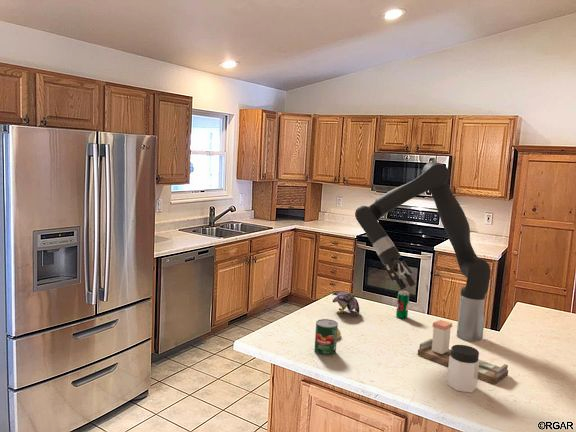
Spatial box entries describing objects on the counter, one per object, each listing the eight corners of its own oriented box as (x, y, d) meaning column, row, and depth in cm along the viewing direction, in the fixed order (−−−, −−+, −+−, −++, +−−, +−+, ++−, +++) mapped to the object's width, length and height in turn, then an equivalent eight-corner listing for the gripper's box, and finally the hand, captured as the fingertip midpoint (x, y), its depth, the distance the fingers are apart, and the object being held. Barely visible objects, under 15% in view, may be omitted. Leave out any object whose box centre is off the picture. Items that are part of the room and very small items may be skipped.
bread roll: (318, 339, 174) (319, 330, 173) (320, 331, 182) (321, 322, 182) (339, 342, 172) (340, 332, 172) (341, 333, 181) (341, 324, 180)
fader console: (417, 354, 163) (418, 344, 163) (431, 348, 170) (432, 338, 170) (495, 384, 143) (496, 372, 143) (507, 375, 150) (508, 364, 150)
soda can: (407, 319, 201) (409, 293, 199) (396, 318, 202) (398, 292, 200) (407, 316, 206) (409, 290, 204) (395, 314, 207) (397, 289, 205)
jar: (453, 376, 147) (457, 341, 146) (479, 385, 142) (483, 349, 141) (443, 386, 141) (446, 349, 139) (469, 395, 135) (473, 358, 134)
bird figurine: (369, 298, 198) (338, 287, 197) (362, 323, 196) (330, 312, 195) (361, 297, 212) (331, 287, 212) (353, 321, 210) (324, 310, 210)
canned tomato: (316, 357, 157) (318, 327, 156) (312, 347, 165) (313, 319, 164) (338, 356, 159) (340, 326, 157) (333, 347, 166) (334, 318, 165)
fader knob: (430, 350, 162) (432, 322, 161) (437, 346, 166) (440, 319, 164) (442, 354, 159) (444, 326, 157) (449, 350, 162) (452, 323, 161)
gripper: (385, 246, 167) (409, 285, 162) (401, 244, 178) (423, 279, 173) (370, 257, 171) (393, 294, 166) (387, 253, 182) (408, 288, 177)
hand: (408, 287), depth 169 cm, fingers open, 8 cm apart
